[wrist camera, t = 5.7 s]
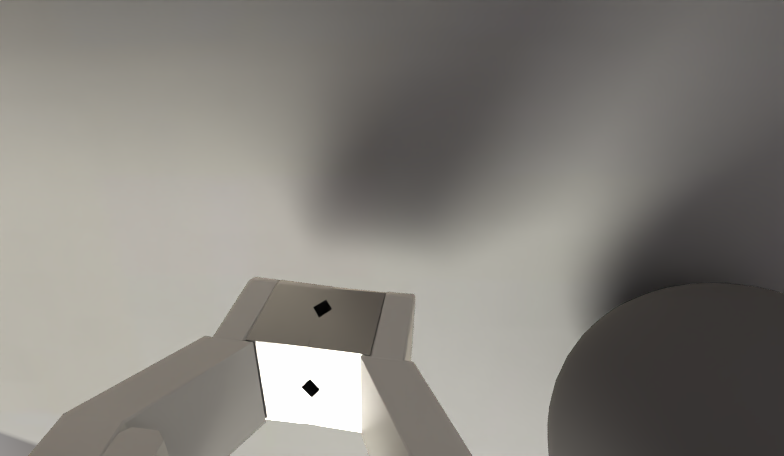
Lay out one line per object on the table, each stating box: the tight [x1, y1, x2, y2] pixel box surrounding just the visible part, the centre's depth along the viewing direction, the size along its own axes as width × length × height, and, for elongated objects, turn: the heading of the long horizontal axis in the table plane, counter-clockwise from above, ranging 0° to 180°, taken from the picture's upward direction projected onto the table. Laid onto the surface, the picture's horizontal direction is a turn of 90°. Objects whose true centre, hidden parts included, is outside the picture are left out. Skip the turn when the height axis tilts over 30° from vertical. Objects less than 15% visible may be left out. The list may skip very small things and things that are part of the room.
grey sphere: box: [548, 283, 784, 456], centre depth 8 cm, size 6×6×6 cm
